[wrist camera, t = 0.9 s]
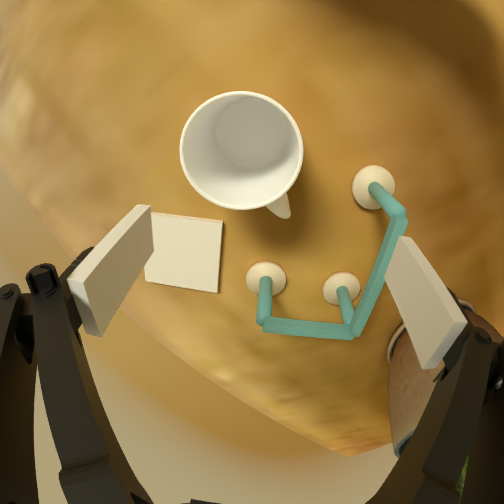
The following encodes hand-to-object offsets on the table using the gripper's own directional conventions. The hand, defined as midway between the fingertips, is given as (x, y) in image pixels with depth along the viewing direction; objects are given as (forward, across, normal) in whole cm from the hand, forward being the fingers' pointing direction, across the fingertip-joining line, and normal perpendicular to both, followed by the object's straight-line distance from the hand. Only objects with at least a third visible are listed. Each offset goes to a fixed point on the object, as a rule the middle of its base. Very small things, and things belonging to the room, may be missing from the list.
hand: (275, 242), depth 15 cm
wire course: (+17, +6, -8) cm, 20 cm away
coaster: (+17, -10, -12) cm, 24 cm away
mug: (+18, -2, +1) cm, 18 cm away
